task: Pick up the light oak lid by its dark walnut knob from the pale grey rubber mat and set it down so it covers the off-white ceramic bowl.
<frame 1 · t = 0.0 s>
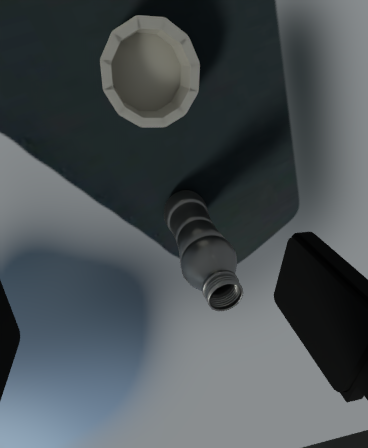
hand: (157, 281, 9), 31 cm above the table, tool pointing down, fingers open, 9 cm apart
bowl: (146, 74, 34), on the table
plastic bottle: (181, 205, 44), on the table
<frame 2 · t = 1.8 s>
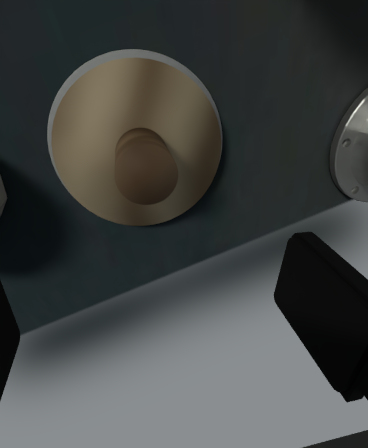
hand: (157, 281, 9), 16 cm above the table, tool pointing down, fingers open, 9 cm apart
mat: (140, 148, 23), on the table
lid: (140, 149, 23), resting on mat
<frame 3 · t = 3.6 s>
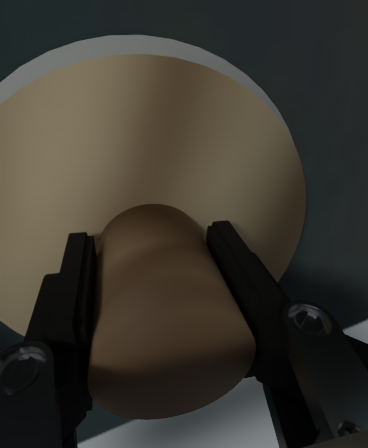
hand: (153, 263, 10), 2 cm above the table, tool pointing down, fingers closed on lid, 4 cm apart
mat: (147, 230, 12), on the table
lid: (147, 234, 12), resting on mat, touching gripper
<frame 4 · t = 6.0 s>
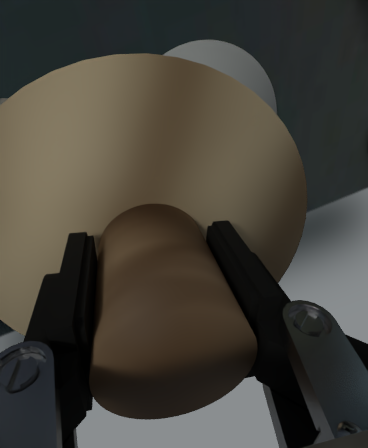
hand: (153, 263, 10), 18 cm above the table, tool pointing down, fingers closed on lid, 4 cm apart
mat: (204, 129, 26), on the table
lid: (148, 234, 12), point 16 cm above the table, touching gripper
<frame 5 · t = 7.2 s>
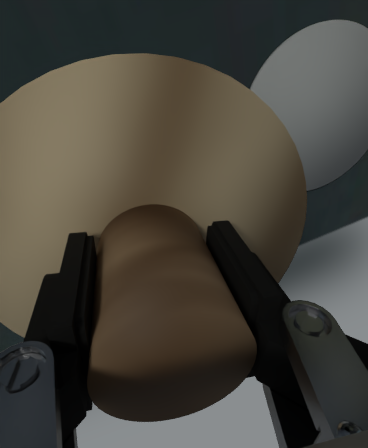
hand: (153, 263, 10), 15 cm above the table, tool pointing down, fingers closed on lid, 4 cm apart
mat: (315, 117, 25), on the table
lid: (148, 234, 12), point 13 cm above the table, touching gripper
when the fingers open (9 cm above the table, at t = 8.4 s): lid drops 1 cm, resting on bowl.
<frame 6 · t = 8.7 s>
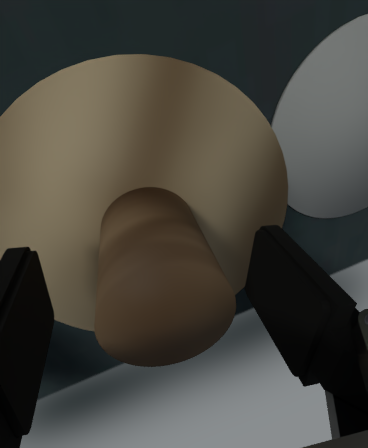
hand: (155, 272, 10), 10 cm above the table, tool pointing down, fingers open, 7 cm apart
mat: (357, 130, 20), on the table
lid: (146, 217, 13), point 6 cm above the table, touching bowl
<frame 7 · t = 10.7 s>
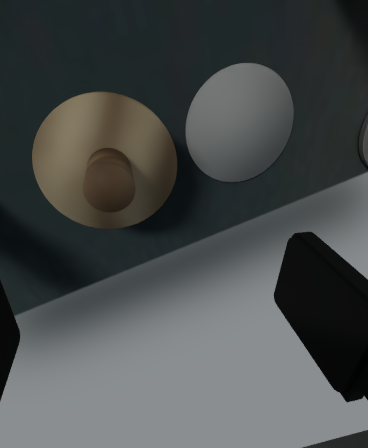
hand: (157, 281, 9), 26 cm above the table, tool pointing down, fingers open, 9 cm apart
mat: (240, 128, 35), on the table
lid: (109, 165, 27), point 6 cm above the table, touching bowl
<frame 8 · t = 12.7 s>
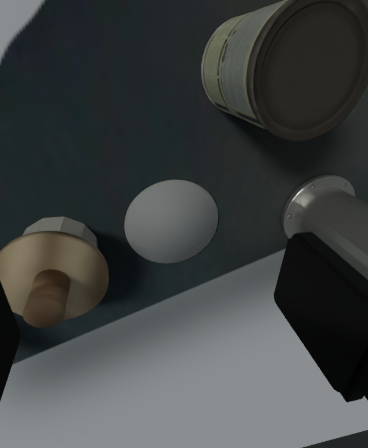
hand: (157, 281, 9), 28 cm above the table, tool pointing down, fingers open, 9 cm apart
bowl: (60, 248, 40), on the table
coffee can: (241, 68, 33), on the table
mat: (172, 224, 42), on the table
lid: (54, 275, 35), point 6 cm above the table, touching bowl
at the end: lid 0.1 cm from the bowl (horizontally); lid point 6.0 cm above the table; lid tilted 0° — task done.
